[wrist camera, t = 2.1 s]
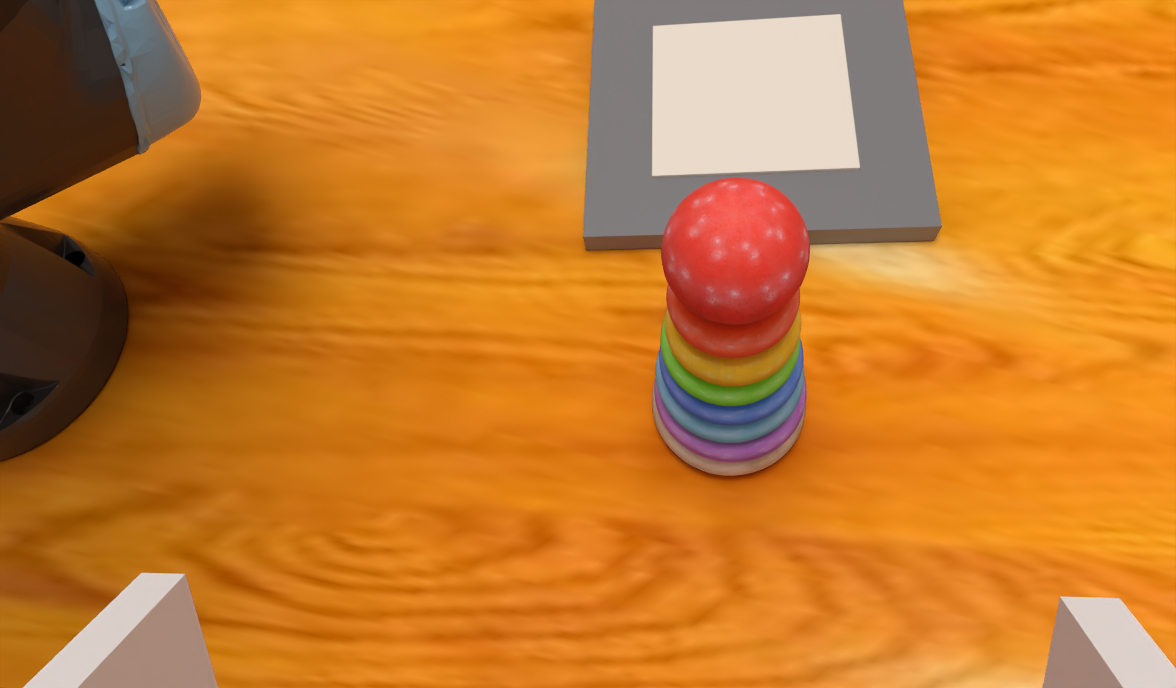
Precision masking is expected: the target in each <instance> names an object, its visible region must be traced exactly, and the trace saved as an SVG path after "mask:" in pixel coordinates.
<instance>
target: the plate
mask: <svg viewBox="0 0 1176 688" xmlns="http://www.w3.org/2000/svg"><path fill="white" fill-rule="evenodd" d="M735 177H738V178H749V179H754V180H758V181H761V182H764V183H767V184H769V185H771V186H772V187H774V188H776V189H778V190H779V191H780V192H782V193H783V194H784V195H786V196H787V197H788V198H789V199H790V200H791V201H792V203H793V204H794V205H795V206H796V208H797V209H798V210H799V212H800V214H801V216H802V218H803V220H804V222H805V225H806V228H807V232H808V236H809V242H810V244H830V243H866V242H902V241H934V240H935V238H936V236H937V234H938V232H939V230H940V229H941V227H942V225H941V219H940V213H939V208H938V202H937V196H936V190H935V184H934V179H933V173H932V167H931V161H930V155H929V150H928V144H927V138H926V132H925V126H924V121H923V115H922V109H921V103H920V98H919V92H918V86H917V80H916V74H915V69H914V63H913V57H912V51H911V45H910V40H909V34H908V28H907V22H906V16H905V11H904V5H903V0H595V4H594V25H593V46H592V67H591V87H590V108H589V129H588V149H587V170H586V191H585V211H584V232H583V238H584V242H585V247H586V250H613V249H649V248H662V240H663V235H664V232H665V228H666V225H667V223H668V221H669V218H670V216H671V215H672V213H673V212H674V211H675V209H676V208H677V206H678V205H679V204H680V203H681V202H682V201H683V200H684V199H685V198H686V197H687V196H688V195H689V194H690V193H692V192H693V191H695V190H696V189H698V188H699V187H701V186H703V185H705V184H707V183H710V182H713V181H716V180H720V179H725V178H735Z"/></svg>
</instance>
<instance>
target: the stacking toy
mask: <svg viewBox="0 0 1176 688" xmlns="http://www.w3.org/2000/svg"><path fill="white" fill-rule="evenodd" d="M809 255H810V242H809V236H808V232H807V228H806V225H805V222H804V220H803V218H802V216H801V214H800V212H799V210H798V209H797V208H796V206H795V205H794V204H793V203H792V201H791V200H790V199H789V198H788V197H787V196H786V195H784V194H783V193H782V192H780V191H779V190H778V189H776V188H774V187H772V186H771V185H769V184H767V183H764V182H761V181H758V180H754V179H749V178H738V177H735V178H725V179H720V180H716V181H713V182H710V183H707V184H705V185H703V186H701V187H699V188H698V189H696V190H695V191H693V192H692V193H690V194H689V195H688V196H687V197H686V198H685V199H684V200H683V201H682V202H681V203H680V204H679V205H678V206H677V208H676V209H675V211H674V212H673V213H672V215H671V216H670V218H669V221H668V223H667V225H666V228H665V232H664V235H663V240H662V248H661V258H662V265H663V270H664V274H665V277H666V280H667V282H668V287H667V296H666V300H667V308H666V313H665V318H664V321H663V325H662V329H661V339H660V344H661V345H660V350H659V353H658V357H657V362H656V370H655V376H656V377H655V382H654V386H653V392H652V410H653V415H654V420H655V423H656V426H657V428H658V431H659V433H660V435H661V436H662V438H663V440H664V441H665V443H666V444H667V445H668V447H669V448H670V449H671V450H672V451H673V452H674V453H675V454H676V455H677V456H678V457H679V458H681V459H682V460H683V461H685V462H686V463H688V464H690V465H691V466H693V467H695V468H697V469H699V470H702V471H705V472H708V473H712V474H716V475H723V476H736V475H744V474H749V473H753V472H756V471H759V470H762V469H764V468H766V467H768V466H770V465H772V464H773V463H775V462H776V461H778V460H779V459H780V458H781V457H783V456H784V455H785V454H786V453H787V452H788V451H789V449H790V448H791V447H792V446H793V444H794V443H795V441H796V439H797V438H798V436H799V433H800V431H801V429H802V426H803V422H804V417H805V409H806V382H805V377H804V365H803V348H802V343H801V339H800V332H801V314H800V309H799V303H800V288H799V287H800V286H801V284H802V282H803V280H804V277H805V274H806V271H807V268H808V263H809Z"/></svg>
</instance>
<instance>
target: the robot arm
mask: <svg viewBox="0 0 1176 688" xmlns="http://www.w3.org/2000/svg"><path fill="white" fill-rule="evenodd" d="M200 101H201V90H200V86H199V83H198V80H197V78H196V75H195V73H194V71H193V69H192V67H191V65H190V63H189V61H188V59H187V57H186V55H185V53H184V51H183V49H182V47H181V45H180V43H179V41H178V40H177V38H176V36H175V34H174V32H173V30H172V28H171V26H170V24H169V23H168V21H167V19H166V17H165V15H164V13H163V12H162V10H161V8H160V6H159V4H158V2H157V1H156V0H0V460H4V459H7V458H10V457H13V456H16V455H18V454H21V453H23V452H25V451H27V450H30V449H32V448H34V447H35V446H37V445H39V444H41V443H43V442H44V441H46V440H47V439H49V438H51V437H52V436H53V435H55V434H56V433H58V432H59V431H60V430H62V429H63V428H64V427H65V426H67V425H68V424H69V423H70V422H71V421H72V420H74V419H75V418H76V417H77V416H78V415H79V414H80V413H81V412H82V411H83V410H84V409H85V408H86V407H87V406H88V404H89V403H90V402H91V401H92V400H93V398H94V397H95V396H96V395H97V393H98V392H99V391H100V389H101V388H102V386H103V385H104V383H105V382H106V380H107V379H108V377H109V375H110V374H111V372H112V370H113V368H114V366H115V364H116V362H117V359H118V357H119V355H120V352H121V349H122V346H123V343H124V339H125V334H126V329H127V321H128V306H127V298H126V294H125V290H124V287H123V285H122V282H121V280H120V278H119V277H118V275H117V273H116V272H115V270H114V269H113V268H112V267H111V266H110V265H109V263H108V262H106V261H105V260H104V259H103V258H102V257H100V256H99V255H97V254H96V253H95V252H93V251H92V250H91V249H89V248H88V247H87V246H85V245H84V244H82V243H81V242H80V241H78V240H76V239H75V238H73V237H71V236H69V235H67V234H65V233H62V232H60V231H57V230H54V229H50V228H47V227H44V226H41V225H37V224H34V223H31V222H27V221H24V220H21V219H17V218H14V217H11V215H13V214H15V213H17V212H19V211H21V210H23V209H25V208H27V207H29V206H31V205H33V204H35V203H37V202H39V201H42V200H44V199H46V198H48V197H50V196H52V195H54V194H56V193H58V192H60V191H62V190H64V189H66V188H68V187H71V186H73V185H75V184H77V183H79V182H81V181H83V180H85V179H87V178H89V177H91V176H93V175H95V174H97V173H100V172H102V171H104V170H106V169H108V168H110V167H112V166H114V165H116V164H118V163H120V162H122V161H124V160H126V159H129V158H131V157H133V156H135V155H137V154H142V153H144V152H146V151H147V150H148V149H149V146H150V145H151V144H153V143H154V142H156V141H158V140H159V139H161V138H163V137H164V136H166V135H168V134H170V133H171V132H173V131H175V130H176V129H178V128H180V127H181V126H183V125H185V124H186V123H188V122H189V121H190V120H191V119H192V118H193V117H194V116H195V114H196V113H197V111H198V109H199V106H200ZM23 688H218V686H217V682H216V679H215V675H214V672H213V668H212V665H211V661H210V658H209V654H208V651H207V647H206V644H205V640H204V637H203V633H202V630H201V626H200V623H199V619H198V616H197V613H196V609H195V606H194V602H193V599H192V595H191V592H190V588H189V585H188V581H187V578H186V574H169V573H141V574H140V575H139V576H138V577H137V578H136V579H135V580H134V581H133V582H131V583H130V584H129V585H128V586H127V587H126V588H125V589H124V590H123V591H122V592H121V593H120V594H119V595H118V596H117V597H116V598H115V599H114V600H113V601H112V602H111V603H110V604H109V605H108V606H107V607H106V608H105V609H104V610H103V611H101V612H100V613H99V614H98V615H97V616H96V617H95V618H94V619H93V620H92V621H91V622H90V623H89V624H88V625H87V626H86V627H85V628H84V629H83V630H82V631H81V632H80V633H79V634H78V635H77V636H76V637H75V638H74V639H73V640H71V641H70V642H69V643H68V644H67V645H66V646H65V647H64V648H63V649H62V650H61V651H60V652H59V653H58V654H57V655H56V656H55V657H54V658H53V659H52V660H51V661H50V662H49V663H48V664H47V665H46V666H45V667H44V668H43V669H41V670H40V671H39V672H38V673H37V674H36V675H35V676H34V677H33V678H32V679H31V680H30V681H29V682H28V683H27V684H26V685H25V686H24V687H23ZM1043 688H1176V668H1175V667H1174V666H1173V665H1172V663H1171V662H1170V661H1169V660H1168V658H1167V657H1166V656H1165V655H1164V653H1163V652H1162V651H1161V650H1160V648H1159V647H1158V646H1157V645H1156V643H1155V642H1154V641H1153V640H1152V638H1151V637H1150V636H1149V635H1148V633H1147V632H1146V631H1145V630H1144V628H1143V627H1142V626H1141V625H1140V623H1139V622H1138V621H1137V620H1136V618H1135V617H1134V616H1133V615H1132V613H1131V612H1130V611H1129V610H1128V608H1127V607H1126V606H1125V604H1124V603H1123V602H1122V601H1121V599H1120V598H1091V597H1060V600H1059V605H1058V610H1057V615H1056V621H1055V626H1054V631H1053V636H1052V642H1051V647H1050V652H1049V657H1048V663H1047V668H1046V673H1045V678H1044V684H1043Z"/></svg>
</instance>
